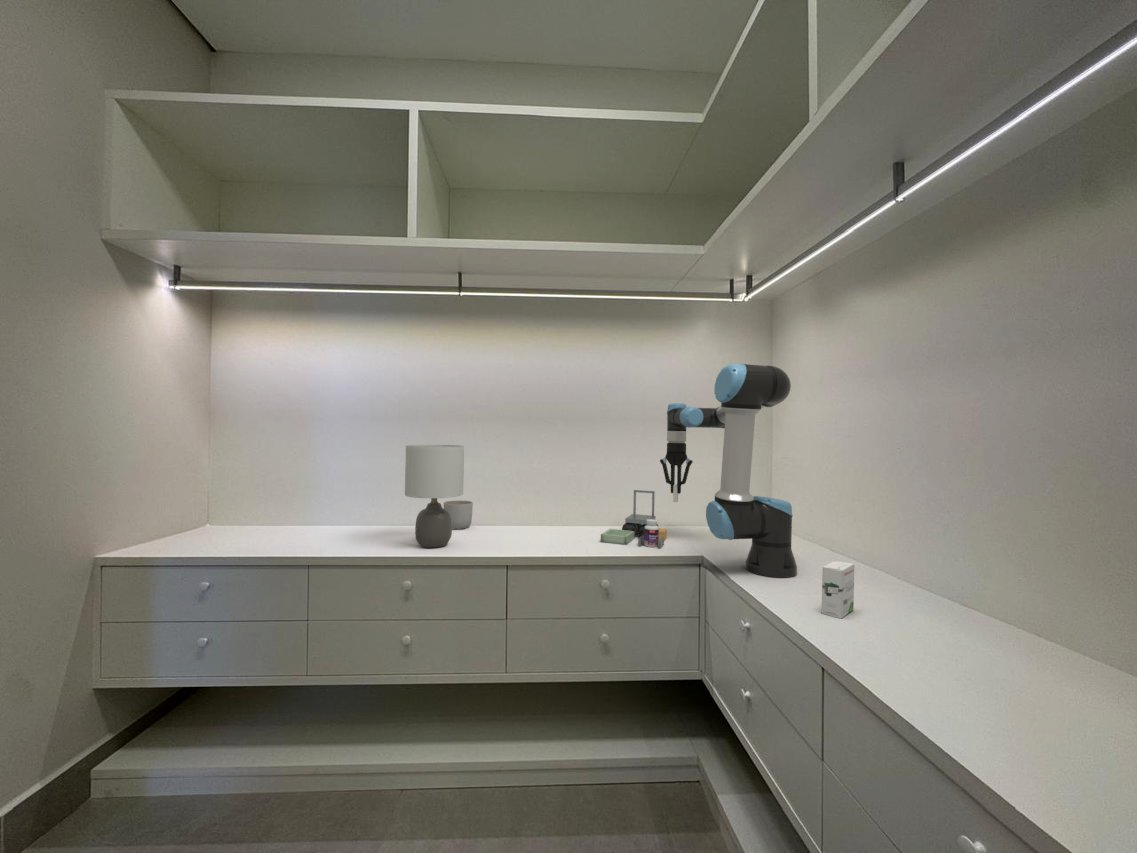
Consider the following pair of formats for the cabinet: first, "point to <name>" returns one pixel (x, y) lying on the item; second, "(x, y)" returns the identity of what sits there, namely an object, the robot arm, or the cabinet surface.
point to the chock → (663, 533)
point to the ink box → (837, 589)
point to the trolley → (638, 517)
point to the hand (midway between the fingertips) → (675, 501)
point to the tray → (617, 536)
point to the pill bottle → (651, 533)
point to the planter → (459, 513)
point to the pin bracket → (660, 542)
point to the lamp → (434, 488)
